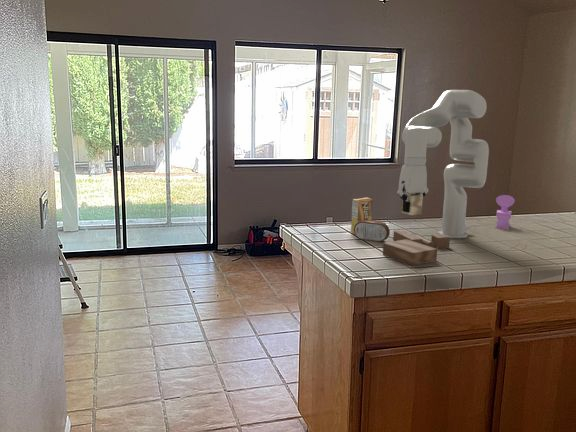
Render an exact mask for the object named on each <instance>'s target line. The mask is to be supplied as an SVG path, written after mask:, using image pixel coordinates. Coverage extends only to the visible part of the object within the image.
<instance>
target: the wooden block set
mask: <svg viewBox="0 0 576 432" xmlns="http://www.w3.org/2000/svg"><path fill="white" fill-rule="evenodd" d="M405 239H408V240H411V241H414V242H417V243H420V244H423V245H427V246H430V247H433V248H436V249H448V248H450V242H451V241H450V240H451V238H450V237H448V236H445V235H441V234H438V232H437V233H434V234H431V240H430V239H427V238H426V237H424V236H421V235H419V234H415V235H414V234H413V233H409V232H407V231H405V230H399V229H396V230H393V240H394V241H399V240H405Z"/></svg>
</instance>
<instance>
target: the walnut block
mask: <svg viewBox="0 0 576 432" xmlns="http://www.w3.org/2000/svg"><path fill="white" fill-rule="evenodd" d="M382 245H383V247H382V255H383V256H385V255H386V257H388V258H391V259H393V258H394V260H396V259H397V260H396V261H399V262H401V261H402V263H404V262H405V264H407V265H409V264H410V266H416V265H415V264H417V265H422V264H421V263H423V264H427V263H426V262H428V263H433V262H432V261H434V262H437V257H438V256H437V255H438V248H435V247H434V248H433V247H430V246H427V245H423V244H420V243H417V242H414V241H411V240H408V239H405V240H399V241H396V240H394V241H386V242H383V243H382Z"/></svg>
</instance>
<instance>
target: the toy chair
mask: <svg viewBox="0 0 576 432" xmlns="http://www.w3.org/2000/svg"><path fill="white" fill-rule="evenodd" d="M495 201H496V203H497V205H498V206H500V208H501V209H497V210H496V214H495V216H496V219H497V221H496V223H495V225H496V224H497V225H496V226H495V229H501V228H503V230H510V226H511V225H510V220H511V218H512V210H508V209H509V208H510V207H512V206H513V205H514V203H515V202H516V199H515V198H514V197H513V196H511V195H508V194H502V195H499V196H497V197H496V198H495Z"/></svg>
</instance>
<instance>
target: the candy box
mask: <svg viewBox="0 0 576 432" xmlns="http://www.w3.org/2000/svg"><path fill="white" fill-rule="evenodd" d="M372 212H373V198H370V197H361V198H353V199H352V205H351V223H350V224H351V225H350V227H351V228H350V233H351V234H354V235H355V233H354V226H355V225H356V224H357V222H358V221H360V220H370V221H372Z"/></svg>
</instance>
